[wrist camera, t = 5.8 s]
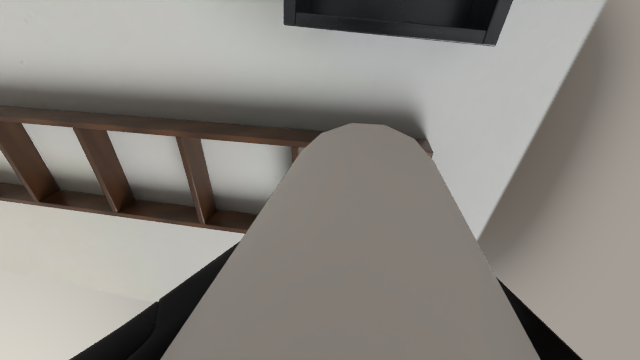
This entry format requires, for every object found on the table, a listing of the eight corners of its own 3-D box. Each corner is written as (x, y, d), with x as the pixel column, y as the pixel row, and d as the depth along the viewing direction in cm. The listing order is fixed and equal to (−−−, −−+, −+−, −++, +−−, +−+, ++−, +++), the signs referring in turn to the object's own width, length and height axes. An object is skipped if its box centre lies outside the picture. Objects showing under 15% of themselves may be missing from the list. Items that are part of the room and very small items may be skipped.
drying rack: (427, 139, 19) (433, 152, 17) (404, 237, 24) (406, 255, 22) (-144, 94, 26) (-183, 100, 25) (-73, 176, 31) (-101, 186, 29)
